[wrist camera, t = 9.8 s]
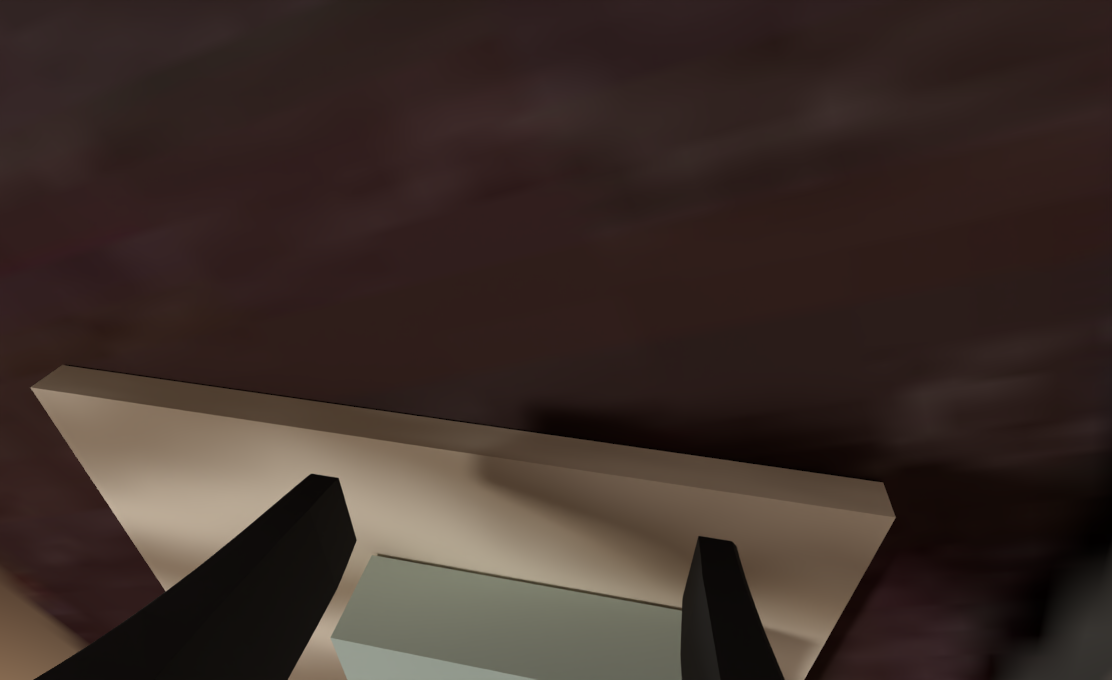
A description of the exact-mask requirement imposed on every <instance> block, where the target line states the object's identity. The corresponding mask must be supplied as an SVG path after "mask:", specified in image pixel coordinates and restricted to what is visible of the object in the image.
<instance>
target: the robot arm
mask: <svg viewBox="0 0 1112 680" xmlns="http://www.w3.org/2000/svg"><path fill="white" fill-rule="evenodd" d="M356 541H357V539H356V536H355V532H354V529H353V525H352V522H351V518H350V515H349V512H348V508H347V505H346V501H345V498H344V494H343V491H342V487H341V484H340V480H339V478H337V477H330V476H324V475H318V474H312V473H311V474H310V475H309V476H307V477H306V478H305V479H304V480H302V481H301V482H300V483H299V484H298V485H296V486H295V487H294V488H293V489H292V490H290V491H289V492H288V493H287V494H286V495H284V496H283V497H282V498H281V499H280V500H279V501H277V502H276V503H275V504H274V505H273V506H272V507H270V508H269V509H268V510H267V511H266V512H264V513H263V514H262V515H261V516H260V517H258V518H257V519H256V520H255V521H254V522H253V523H251V524H250V525H249V526H248V527H247V528H245V529H244V530H243V531H242V532H241V533H239V534H238V535H237V536H236V537H234V538H233V539H232V540H231V541H230V542H228V543H227V544H226V545H225V546H223V547H222V548H221V549H220V550H219V551H217V552H216V553H215V554H214V555H212V556H211V557H210V558H209V559H207V560H206V561H205V562H204V563H202V564H201V565H200V566H199V567H197V568H196V569H195V570H193V571H192V572H191V573H189V574H188V575H187V576H185V577H184V578H183V579H182V580H180V581H179V582H178V583H176V584H175V585H174V586H172V587H171V588H170V589H168V590H167V591H166V592H164V593H163V594H162V595H160V596H159V597H158V598H157V599H155V600H154V601H152V602H151V603H150V604H148V605H147V606H145V607H144V608H143V609H141V610H140V611H138V612H137V613H136V614H134V615H133V616H131V617H130V618H129V619H127V620H126V621H124V622H123V623H121V624H120V625H118V626H117V627H116V628H114V629H113V630H111V631H110V632H108V633H107V634H105V635H104V636H102V637H101V638H99V639H98V640H96V641H95V642H93V643H92V644H90V645H89V646H87V647H86V648H84V649H82V650H81V651H79V652H78V653H76V654H75V655H73V656H72V657H70V658H68V659H67V660H65V661H64V662H62V663H61V664H59V665H57V666H55V667H54V668H52V669H50V670H49V671H47V672H46V673H44V674H42V675H41V676H39V677H37V678H36V679H34V680H288V678H289V677H290V675H291V673H292V671H293V669H294V668H295V666H296V664H297V662H298V660H299V658H300V657H301V655H302V653H303V651H304V649H305V648H306V646H307V644H308V642H309V640H310V639H311V637H312V635H313V633H314V631H315V629H316V628H317V626H318V624H319V622H320V620H321V618H322V617H323V615H324V613H325V611H326V609H327V607H328V605H329V604H330V602H331V600H332V598H333V596H334V594H335V592H336V590H337V588H338V586H339V584H340V581H341V579H342V576H343V574H344V572H345V569H346V567H347V564H348V562H349V559H350V557H351V554H352V552H353V549H354V546H355V544H356ZM680 657H681V676H682V680H785V679H784V676H783V674H782V671H781V669H780V667H779V664H778V662H777V659H776V657H775V655H774V652H773V650H772V647H771V645H770V643H769V640H768V638H767V635H766V633H765V630H764V628H763V625H762V622H761V620H760V617H759V614H758V611H757V609H756V606H755V603H754V600H753V598H752V595H751V592H750V589H749V586H748V583H747V580H746V577H745V574H744V570H743V567H742V564H741V560H740V557H739V553H738V549H737V546H736V545H735V544H734V543H733V542H732V541H728V540H722V539H716V538H709V537H703V536H698V539H697V543H696V547H695V551H694V555H693V559H692V563H691V567H690V570H689V574H688V578H687V582H686V586H685V590H684V594H683V598H682V621H681V650H680Z"/></svg>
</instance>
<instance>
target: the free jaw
mask: <svg viewBox="0 0 1112 680" xmlns="http://www.w3.org/2000/svg"><path fill="white" fill-rule="evenodd" d="M681 621H682V611H680V610H675V609H669V608H664V607H658V606H653V605H647V604H641V603H636V602H630V601H625V600H619V599H614V598H608V597H602V596H597V595H591V594H586V593H580V592H575V591H569V590H564V589H558V588H552V587H547V586H541V585H536V584H530V583H525V582H519V581H513V580H508V579H502V578H497V577H491V576H486V575H480V574H474V573H469V572H463V571H458V570H452V569H447V568H441V567H435V566H430V565H424V564H419V563H413V562H408V561H402V560H396V559H391V558H385V557H380V556H374V555H372V556H371V558H370V560H369V562H368V564H367V566H366V568H365V570H364V572H363V574H362V576H361V578H360V580H359V582H358V584H357V586H356V588H355V590H354V592H353V594H352V596H351V598H350V600H349V602H348V604H347V606H346V608H345V610H344V612H343V614H342V616H341V618H340V620H339V622H338V624H337V626H336V628H335V629H334V631H333V633H332V635H331V637H330V638H331V641H332V643H333V646H334V648H335V651H336V653H337V656H338V658H339V661H340V663H341V665H342V668H343V670H344V673H345V675H346V678H347V680H682V676H681V657H680V650H681Z"/></svg>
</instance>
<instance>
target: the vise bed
mask: <svg viewBox="0 0 1112 680" xmlns="http://www.w3.org/2000/svg"><path fill="white" fill-rule="evenodd" d="M31 389H32V390H33V392H34V393H35V395H36V396H37V398H38V399H39V401H40V403H41V404H42V406H43V407H44V409H45V410H46V412H47V413H48V415H49V416H50V418H51V419H52V421H53V422H54V424H55V425H56V427H57V428H58V430H59V431H60V433H61V434H62V436H63V437H64V439H65V440H66V442H67V443H68V445H69V446H70V448H71V449H72V451H73V452H74V454H75V455H76V457H77V458H78V460H79V461H80V463H81V464H82V466H83V467H84V469H85V470H86V472H87V473H88V475H89V476H90V478H91V479H92V481H93V482H94V484H95V485H96V487H97V488H98V490H99V491H100V493H101V494H102V496H103V497H104V499H105V500H106V502H107V503H108V505H109V506H110V508H111V510H112V511H113V513H114V514H115V516H116V517H117V519H118V520H119V522H120V523H121V525H122V526H123V528H124V529H125V531H126V532H127V534H128V535H129V537H130V538H131V540H132V541H133V543H134V544H135V546H136V547H137V549H138V550H139V552H140V553H141V555H142V556H143V558H144V559H145V561H146V562H147V564H148V565H149V567H150V568H151V570H152V571H153V573H154V574H155V576H156V577H157V579H158V580H159V582H160V583H161V585H162V586H163V588H164V589H165V591H167V590H168V589H170V588H171V587H172V586H174V585H175V584H176V583H178V582H179V581H180V580H182V579H183V578H184V577H185V576H187V575H188V574H189V573H191V572H192V571H193V570H195V569H196V568H197V567H199V566H200V565H201V564H202V563H204V562H205V561H206V560H207V559H209V558H210V557H211V556H212V555H214V554H215V553H216V552H217V551H219V550H220V549H221V548H222V547H223V546H225V545H226V544H227V543H228V542H230V541H231V540H232V539H233V538H234V537H236V536H237V535H238V534H239V533H241V532H242V531H243V530H244V529H245V528H247V527H248V526H249V525H250V524H251V523H253V522H254V521H255V520H256V519H257V518H258V517H260V516H261V515H262V514H263V513H264V512H266V511H267V510H268V509H269V508H270V507H272V506H273V505H274V504H275V503H276V502H277V501H279V500H280V499H281V498H282V497H283V496H284V495H286V494H287V493H288V492H289V491H290V490H292V489H293V488H294V487H295V486H296V485H298V484H299V483H300V482H301V481H302V480H304V479H305V478H306V477H307V476H309V475H310V474H311V473H312V474H318V475H324V476H330V477H337V478H339V480H340V484H341V487H342V491H343V494H344V498H345V501H346V505H347V508H348V512H349V515H350V518H351V522H352V525H353V529H354V532H355V536H356V539H357V541H356V544H355V546H354V549H353V552H352V554H351V557H350V559H349V562H348V564H347V567H346V569H345V572H344V574H343V576H342V579H341V581H340V584H339V586H338V588H337V590H336V592H335V594H334V596H333V598H332V600H331V602H330V604H329V605H328V607H327V609H326V611H325V613H324V615H323V617H322V618H321V620H320V622H319V624H318V626H317V628H316V629H315V631H314V633H313V635H312V637H311V639H310V640H309V642H308V644H307V646H306V648H305V649H304V651H303V653H302V655H301V657H300V658H299V660H298V662H297V664H296V666H295V668H294V669H293V671H292V673H291V675H290V677H289V678H288V680H347V678H346V675H345V673H344V670H343V668H342V665H341V663H340V661H339V658H338V656H337V653H336V651H335V648H334V646H333V643H332V641H331V638H330V637H331V635H332V633H333V631H334V629H335V628H336V626H337V624H338V622H339V620H340V618H341V616H342V614H343V612H344V610H345V608H346V606H347V604H348V602H349V600H350V598H351V596H352V594H353V592H354V590H355V588H356V586H357V584H358V582H359V580H360V578H361V576H362V574H363V572H364V570H365V568H366V566H367V564H368V562H369V560H370V558H371V556H372V555H374V556H380V557H385V558H391V559H396V560H402V561H408V562H413V563H419V564H424V565H430V566H435V567H441V568H447V569H452V570H458V571H463V572H469V573H474V574H480V575H486V576H491V577H497V578H502V579H508V580H513V581H519V582H525V583H530V584H536V585H541V586H547V587H552V588H558V589H564V590H569V591H575V592H580V593H586V594H591V595H597V596H602V597H608V598H614V599H619V600H625V601H630V602H636V603H641V604H647V605H653V606H658V607H664V608H669V609H675V610H680V611H682V598H683V594H684V590H685V586H686V582H687V578H688V574H689V570H690V567H691V563H692V559H693V555H694V551H695V547H696V543H697V539H698V536H703V537H709V538H716V539H722V540H728V541H732V542H733V543H734V544H735V545H736V546H737V549H738V553H739V557H740V560H741V564H742V567H743V570H744V574H745V577H746V580H747V583H748V586H749V589H750V592H751V595H752V598H753V600H754V603H755V606H756V609H757V611H758V614H759V617H760V620H761V622H762V625H763V628H764V630H765V633H766V635H767V638H768V640H769V643H770V645H771V647H772V650H773V652H774V655H775V657H776V659H777V662H778V664H779V667H780V669H781V671H782V674H783V676H784V679H785V680H804V679H805V678H806V676H807V674H808V672H809V670H810V669H811V667H812V665H813V663H814V662H815V660H816V658H817V656H818V654H819V653H820V651H821V649H822V647H823V646H824V644H825V642H826V640H827V639H828V637H829V635H830V633H831V631H832V630H833V628H834V626H835V624H836V623H837V621H838V619H839V617H840V615H841V614H842V612H843V610H844V608H845V607H846V605H847V603H848V601H849V600H850V598H851V596H852V594H853V592H854V591H855V589H856V587H857V585H858V584H859V582H860V580H861V578H862V576H863V575H864V573H865V571H866V569H867V568H868V566H869V564H870V562H871V561H872V559H873V557H874V555H875V553H876V552H877V550H878V548H879V546H880V545H881V543H882V541H883V539H884V537H885V536H886V534H887V532H888V530H889V529H890V527H891V525H892V523H893V521H894V520H895V518H896V517H895V514H894V511H893V509H892V506H891V503H890V500H889V498H888V495H887V492H886V489H885V487H884V484H883V482H876V481H869V480H862V479H855V478H848V477H841V476H834V475H827V474H820V473H813V472H806V471H799V470H792V469H785V468H778V467H771V466H764V465H757V464H750V463H743V462H736V461H729V460H722V459H715V458H708V457H701V456H694V455H687V454H680V453H673V452H666V451H659V450H652V449H645V448H638V447H631V446H624V445H617V444H610V443H603V442H596V441H589V440H582V439H575V438H568V437H561V436H554V435H547V434H540V433H533V432H526V431H519V430H512V429H505V428H498V427H491V426H484V425H477V424H470V423H463V422H456V421H449V420H442V419H435V418H428V417H421V416H414V415H407V414H400V413H393V412H386V411H380V410H373V409H366V408H359V407H352V406H345V405H338V404H331V403H324V402H317V401H310V400H303V399H296V398H289V397H282V396H275V395H268V394H261V393H254V392H247V391H240V390H233V389H226V388H219V387H212V386H205V385H198V384H191V383H184V382H177V381H170V380H163V379H156V378H149V377H142V376H135V375H128V374H121V373H114V372H107V371H100V370H93V369H86V368H79V367H72V366H65V365H62V366H61V367H59V368H58V369H56V370H55V371H53V372H52V373H50V374H49V375H48V376H46V377H45V378H43V379H42V380H40V381H39V382H38V383H36V384H35V385H33V386H32V387H31Z"/></svg>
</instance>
